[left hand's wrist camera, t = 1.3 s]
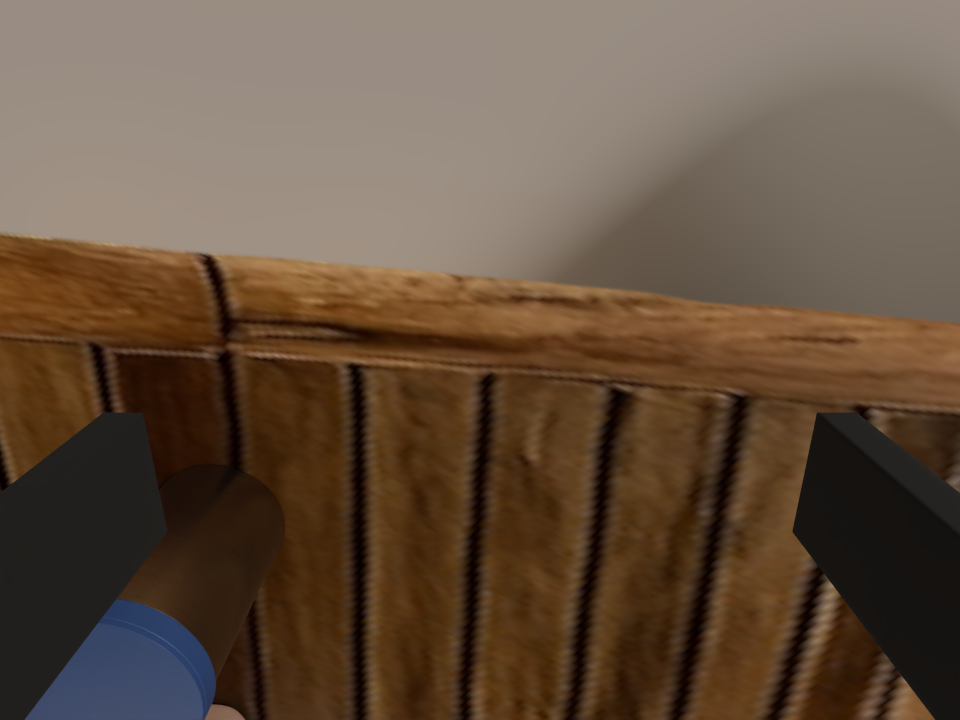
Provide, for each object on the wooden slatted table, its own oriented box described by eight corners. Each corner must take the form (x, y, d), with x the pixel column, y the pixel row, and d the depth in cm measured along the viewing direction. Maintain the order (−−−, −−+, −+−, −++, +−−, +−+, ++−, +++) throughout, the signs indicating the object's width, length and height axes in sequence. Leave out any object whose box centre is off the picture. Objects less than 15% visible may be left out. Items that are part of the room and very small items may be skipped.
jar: (195, 440, 44) (62, 588, 30) (309, 511, 46) (234, 681, 32) (132, 529, 46) (-17, 704, 32) (242, 592, 48) (146, 782, 34)
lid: (75, 563, 31) (53, 587, 29) (251, 660, 33) (240, 688, 31) (-8, 684, 34) (-32, 712, 32) (160, 766, 36) (145, 797, 34)
